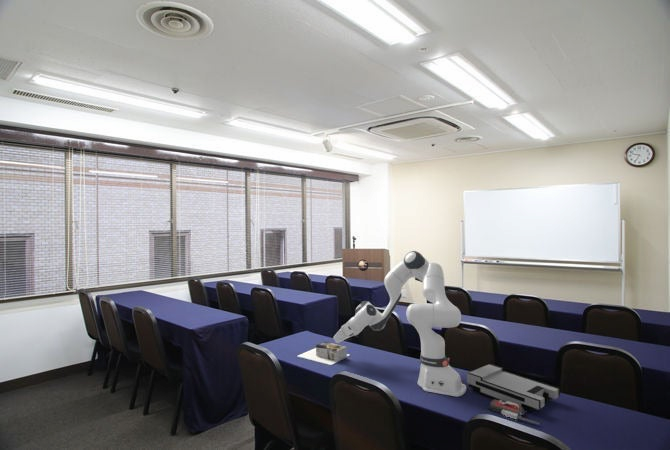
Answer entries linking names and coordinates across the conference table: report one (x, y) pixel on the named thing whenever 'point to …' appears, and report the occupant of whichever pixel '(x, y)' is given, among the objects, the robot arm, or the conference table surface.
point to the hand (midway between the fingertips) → (338, 341)
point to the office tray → (511, 387)
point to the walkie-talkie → (509, 410)
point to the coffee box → (331, 351)
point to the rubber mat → (317, 357)
